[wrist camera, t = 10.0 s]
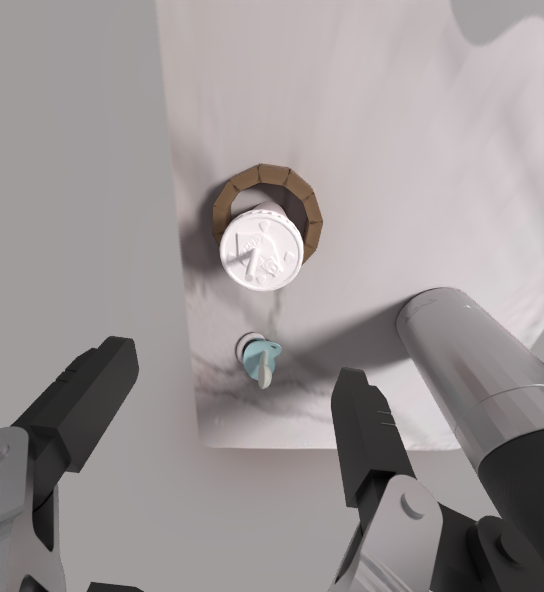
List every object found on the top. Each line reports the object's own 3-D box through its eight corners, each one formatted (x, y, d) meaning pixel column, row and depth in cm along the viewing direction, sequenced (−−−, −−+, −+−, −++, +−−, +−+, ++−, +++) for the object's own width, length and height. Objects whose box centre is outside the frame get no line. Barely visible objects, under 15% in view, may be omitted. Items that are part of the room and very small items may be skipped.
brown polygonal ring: (339, 211, 27) (344, 219, 25) (276, 280, 32) (275, 293, 29) (257, 139, 24) (254, 140, 22) (201, 227, 29) (193, 236, 26)
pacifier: (233, 361, 40) (272, 371, 40) (223, 396, 34) (268, 407, 35) (243, 324, 36) (285, 335, 36) (233, 356, 31) (284, 369, 31)
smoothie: (269, 172, 26) (254, 207, 14) (311, 221, 28) (330, 287, 16) (226, 218, 28) (182, 281, 16) (268, 259, 30) (256, 340, 19)
